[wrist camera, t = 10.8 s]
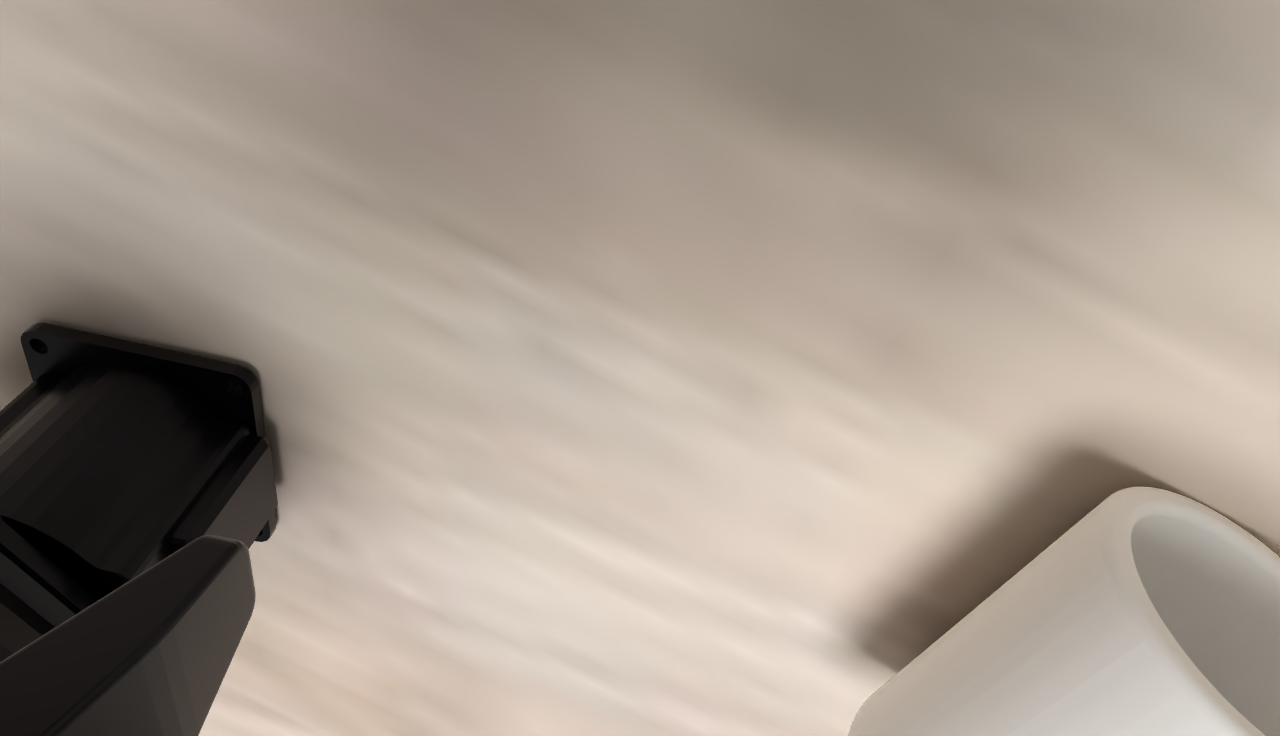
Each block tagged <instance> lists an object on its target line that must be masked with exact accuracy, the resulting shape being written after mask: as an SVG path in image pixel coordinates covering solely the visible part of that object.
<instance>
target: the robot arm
mask: <svg viewBox="0 0 1280 736" xmlns="http://www.w3.org/2000/svg"><path fill="white" fill-rule="evenodd" d="M21 343H22V347H23V350H24V353H25V356H26V359H27V363H28V366H29V369H30V372H31V376H32V379H33V383H32V384H31V385H30V386H29V387H27V388H26V389H25V390H24V391H23V392H22V393H21V394H19V395H18V396H17V397H16V398H15V399H14V400H13V401H11V402H10V403H9V404H8V405H7V406H6V407H5V408H4V409H2V410H1V411H0V736H198V735H199V733H200V730H201V728H202V726H203V724H204V721H205V719H206V717H207V715H208V712H209V710H210V708H211V706H212V703H213V701H214V699H215V697H216V694H217V692H218V690H219V688H220V685H221V683H222V681H223V679H224V676H225V674H226V672H227V670H228V667H229V665H230V663H231V661H232V658H233V656H234V654H235V652H236V649H237V647H238V645H239V643H240V640H241V638H242V636H243V634H244V631H245V629H246V627H247V625H248V622H249V620H250V618H251V615H252V612H253V609H254V604H255V587H254V580H253V574H252V568H251V561H250V555H249V551H248V549H249V548H250V546H251V545H252V543H253V542H254V541H259V542H263V541H267V540H268V539H269V538H270V537H271V535H272V534H273V532H274V530H275V529H276V525H277V523H276V516H275V509H276V507H277V504H278V503H277V495H276V487H275V479H274V471H273V463H272V455H271V447H270V445H269V443H268V441H267V439H266V437H265V430H264V422H263V414H262V406H261V398H260V390H259V383H258V381H257V378H256V377H255V375H254V374H253V373H252V372H251V371H249V370H248V369H247V368H244V367H242V366H239V365H235V364H230V363H225V362H221V361H216V360H212V359H207V358H202V357H198V356H193V355H189V354H184V353H179V352H175V351H170V350H166V349H161V348H156V347H152V346H147V345H143V344H138V343H133V342H129V341H124V340H120V339H115V338H110V337H106V336H101V335H97V334H92V333H87V332H83V331H78V330H74V329H69V328H64V327H60V326H55V325H51V324H46V323H36V324H34V325H32V326H31V327H30V328H29V329H27V330H26V331H25V332H24V333H23V334H22V336H21ZM234 382H235V383H238V384H239V385H240V386H241V387H240V386H237V385H236V384H235V383H234Z"/></svg>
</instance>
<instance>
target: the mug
mask: <svg viewBox="0 0 1280 736" xmlns="http://www.w3.org/2000/svg"><path fill="white" fill-rule="evenodd" d="M848 736H1280V557H1279V556H1278V555H1277V554H1276V553H1274V552H1273V551H1272V550H1271V549H1269V548H1268V547H1267V546H1266V545H1264V544H1263V543H1262V542H1260V541H1259V540H1258V539H1256V538H1255V537H1254V536H1252V535H1251V534H1250V533H1248V532H1247V531H1245V530H1244V529H1243V528H1241V527H1240V526H1238V525H1237V524H1235V523H1234V522H1232V521H1230V520H1229V519H1227V518H1226V517H1224V516H1222V515H1221V514H1219V513H1217V512H1216V511H1214V510H1212V509H1210V508H1208V507H1206V506H1205V505H1203V504H1201V503H1199V502H1196V501H1194V500H1192V499H1190V498H1187V497H1185V496H1182V495H1180V494H1177V493H1174V492H1171V491H1168V490H1163V489H1159V488H1152V487H1129V488H1125V489H1122V490H1119V491H1117V492H1115V493H1113V494H1111V495H1110V496H1109V497H1107V498H1106V499H1105V500H1104V501H1103V502H1101V503H1100V504H1099V505H1098V506H1097V507H1095V508H1094V509H1093V510H1092V511H1091V512H1089V513H1088V514H1087V515H1086V516H1085V517H1083V518H1082V519H1081V520H1080V521H1079V522H1077V523H1076V524H1075V525H1074V526H1073V527H1071V528H1070V529H1069V530H1068V531H1067V532H1066V533H1064V534H1063V535H1062V536H1061V537H1060V538H1058V539H1057V540H1056V541H1055V542H1054V543H1052V544H1051V545H1050V546H1049V547H1048V548H1046V549H1045V550H1044V551H1043V552H1042V553H1040V554H1039V555H1038V556H1037V557H1036V558H1034V559H1033V560H1032V561H1031V562H1030V563H1029V564H1027V565H1026V566H1025V567H1024V568H1023V569H1021V570H1020V571H1019V572H1018V573H1017V574H1015V575H1014V576H1013V577H1012V578H1011V579H1009V580H1008V581H1007V582H1006V583H1005V584H1003V585H1002V586H1001V587H1000V588H999V589H997V590H996V591H995V592H994V593H993V594H992V595H990V596H989V597H988V598H987V599H986V600H984V601H983V602H982V603H981V604H980V605H978V606H977V607H976V608H975V609H974V610H972V611H971V612H970V613H969V614H968V615H966V616H965V617H964V618H963V619H962V620H960V621H959V622H958V623H957V624H956V625H955V626H953V627H952V628H951V629H950V630H949V631H947V632H946V633H945V634H944V635H943V636H941V637H940V638H939V639H938V640H937V641H935V642H934V643H933V644H932V645H931V646H929V647H928V648H927V649H926V650H925V651H923V652H922V653H921V654H920V655H919V656H918V657H916V658H915V659H914V660H913V661H912V662H910V663H909V664H908V665H907V666H906V667H904V668H903V669H902V670H901V671H900V672H898V673H897V674H896V675H895V676H894V677H892V678H891V679H890V680H889V681H888V682H886V683H885V684H884V685H883V686H882V687H881V688H879V689H878V690H877V691H876V692H875V693H873V694H872V695H871V696H870V697H869V698H868V699H867V700H866V701H865V702H864V703H863V705H862V706H861V707H860V709H859V711H858V712H857V714H856V716H855V718H854V720H853V722H852V725H851V728H850V731H849V735H848Z"/></svg>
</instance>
